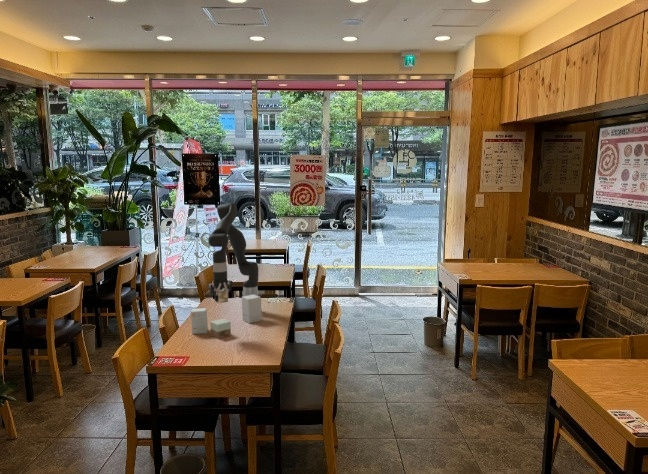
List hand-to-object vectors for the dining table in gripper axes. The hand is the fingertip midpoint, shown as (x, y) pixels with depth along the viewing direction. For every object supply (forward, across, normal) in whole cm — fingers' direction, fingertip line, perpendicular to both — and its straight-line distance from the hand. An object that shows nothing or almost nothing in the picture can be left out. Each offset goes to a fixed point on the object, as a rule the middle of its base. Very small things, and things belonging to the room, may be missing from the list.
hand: (221, 300), depth 250 cm
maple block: (+1, 0, 0) cm, 1 cm away
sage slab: (+16, +1, -1) cm, 16 cm away
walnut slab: (+20, +1, -1) cm, 20 cm away
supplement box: (+20, -26, -12) cm, 35 cm away
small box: (+20, +7, -14) cm, 25 cm away
